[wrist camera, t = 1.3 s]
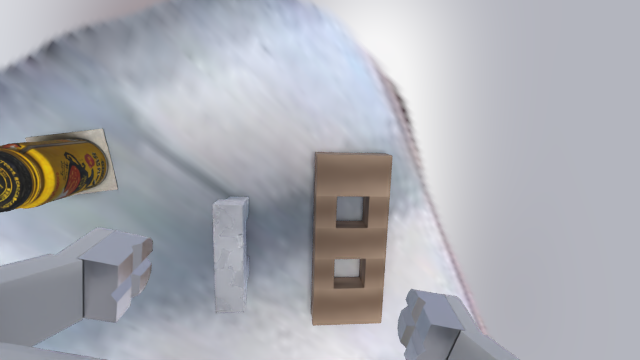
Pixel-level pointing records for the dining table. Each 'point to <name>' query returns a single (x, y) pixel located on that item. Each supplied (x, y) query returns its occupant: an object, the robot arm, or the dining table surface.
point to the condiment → (54, 168)
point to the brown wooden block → (349, 237)
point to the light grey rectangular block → (230, 254)
